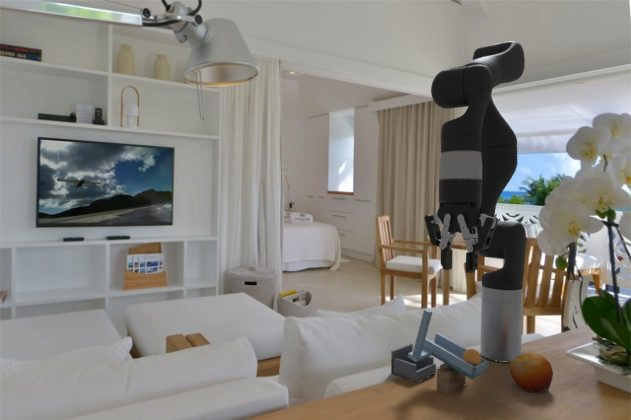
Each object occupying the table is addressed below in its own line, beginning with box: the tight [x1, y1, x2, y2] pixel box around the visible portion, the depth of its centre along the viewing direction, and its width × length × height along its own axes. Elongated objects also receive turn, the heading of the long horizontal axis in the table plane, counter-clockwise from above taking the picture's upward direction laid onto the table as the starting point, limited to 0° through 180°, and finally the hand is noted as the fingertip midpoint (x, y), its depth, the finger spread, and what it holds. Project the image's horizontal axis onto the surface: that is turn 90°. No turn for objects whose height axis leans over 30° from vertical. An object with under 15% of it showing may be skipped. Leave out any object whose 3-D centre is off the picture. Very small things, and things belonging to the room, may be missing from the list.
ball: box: [463, 348, 482, 366], centre depth 86 cm, size 4×4×4 cm
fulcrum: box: [436, 362, 467, 395], centre depth 89 cm, size 7×3×6 cm, turn 133°
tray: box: [390, 343, 437, 383], centre depth 96 cm, size 7×7×5 cm
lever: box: [408, 308, 490, 381], centre depth 86 cm, size 11×12×10 cm
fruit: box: [508, 352, 554, 393], centre depth 89 cm, size 8×8×8 cm
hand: (458, 270), depth 80 cm, fingers open, 4 cm apart
